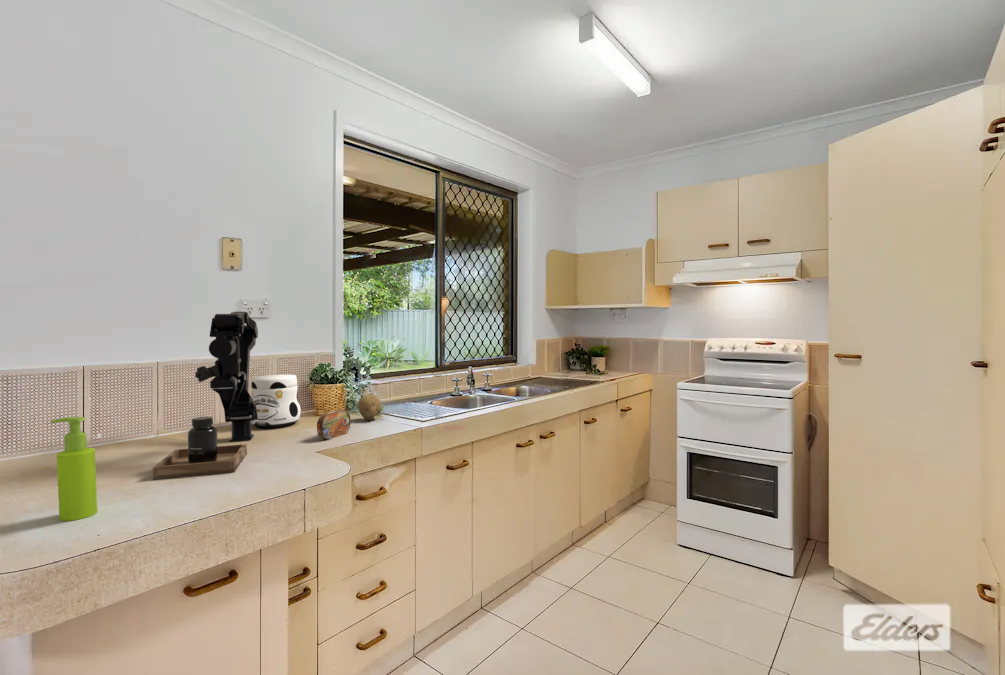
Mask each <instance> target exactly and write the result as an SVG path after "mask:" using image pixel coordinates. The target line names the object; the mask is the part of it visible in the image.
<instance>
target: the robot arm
mask: <svg viewBox="0 0 1005 675" xmlns="http://www.w3.org/2000/svg"><path fill="white" fill-rule="evenodd" d="M210 324H211V325H210V331H209V338H215V339H213V340H212V341H211V342H210V343H209V345H208V352H209V353H210V355H211V356H212V357H214V358H216V359H215V361H214V365H212V366H209V367H207V366H205V365H203V366H199V367H198V368H196V371H195V372H194V373H195V374H194V375H195V378H196V379H197V380H198V382H199V383H202V382H204V381H207V380H209V379H210V378H213V379H211V380H210V382H209V384H210V385H209V387H210V389H211V390H212V391H214V392H215V393H217V394H218V396H219V398H220V401H221V405H222V408H223V410H224V411H223V412H224V422H225V423H231V425H230V426H231V437H230V438H229V439H228V441H229V442H240V441H241V442H242V441H251V440H252V439H253V438H254V436H255V434H253V433H252V423H251V421H254V420H257V419H258V417H257V409H256V406H255V404H254V402H253V399H252V395H251V394H250V393H249V377H250V361H251V360H250V359H251V358H250V356H251V351H252V349H253V348H254V347H255V346H256V342H257V341H256V340H257V339H259V338H258V337H259V330H258V325H257V322H256V321H255V320H254V319H252V318H251V317H250V315H249V312H248V311H232V312H230V313H216V314H214V317H212V319H211V323H210ZM250 415H252V416H250Z"/></svg>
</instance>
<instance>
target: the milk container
mask: <svg viewBox="0 0 1005 675" xmlns="http://www.w3.org/2000/svg"><path fill="white" fill-rule="evenodd" d="M297 377H298V376H297V375H296V374H267V375H258V376H254V377H252V378H251V397H252V399H253V402H254V404H255V406H256V409H257V417H258V419H257V420H254V421H251V425H253V426H256V427H259V428H276V427H277V428H278V427H284V426H288V425H289V426H290V425H292V424H295V423H297V422H298V421H299V420H300V419H301V405H300V402H299V398H298V388H299V387H298V378H297ZM250 416H252V415H250Z"/></svg>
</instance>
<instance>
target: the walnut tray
mask: <svg viewBox="0 0 1005 675" xmlns="http://www.w3.org/2000/svg"><path fill="white" fill-rule="evenodd" d="M247 446H248V444H247V443H243V444H229V445H217V460H216V461H214V462H202V463H191V464H189V462H188V448H178V449H174V450H173V451H172V452H171V453H170V454H168V455H166V457H164V458H163V459H162V460H160V461H159V462H158V463H157V464H155V465H154V466H152V479H153V481H154V480H164V479H176V478H186V477H197V476H198V477H200V476H209V475H220V474H231V473H235V472H236V471H237V470H238V468H239V466H240V465H241V464H242V462H243V460H244V459H245V458H246V457H247V455H248V447H247ZM240 463H241V464H240Z"/></svg>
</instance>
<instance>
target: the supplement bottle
mask: <svg viewBox="0 0 1005 675" xmlns="http://www.w3.org/2000/svg"><path fill="white" fill-rule="evenodd" d="M213 420H214V419H213V416H197V417H193V418H192V419H191V426H192V428H190V429H189V430H188V432H187V449H188V462H189V464H191V463H202V462H214V461H216V460H217V446H218V429H217V428H216V427H215V426H213V425H214V421H213Z"/></svg>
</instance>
